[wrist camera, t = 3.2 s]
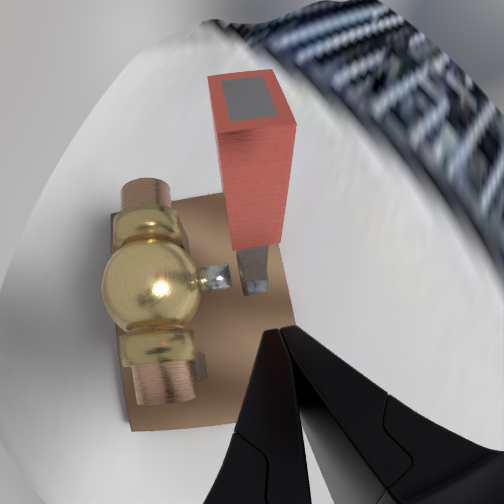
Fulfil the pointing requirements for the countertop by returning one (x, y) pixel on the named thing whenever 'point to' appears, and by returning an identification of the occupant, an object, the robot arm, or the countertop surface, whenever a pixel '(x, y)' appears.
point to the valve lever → (253, 165)
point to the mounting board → (215, 326)
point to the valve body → (157, 294)
